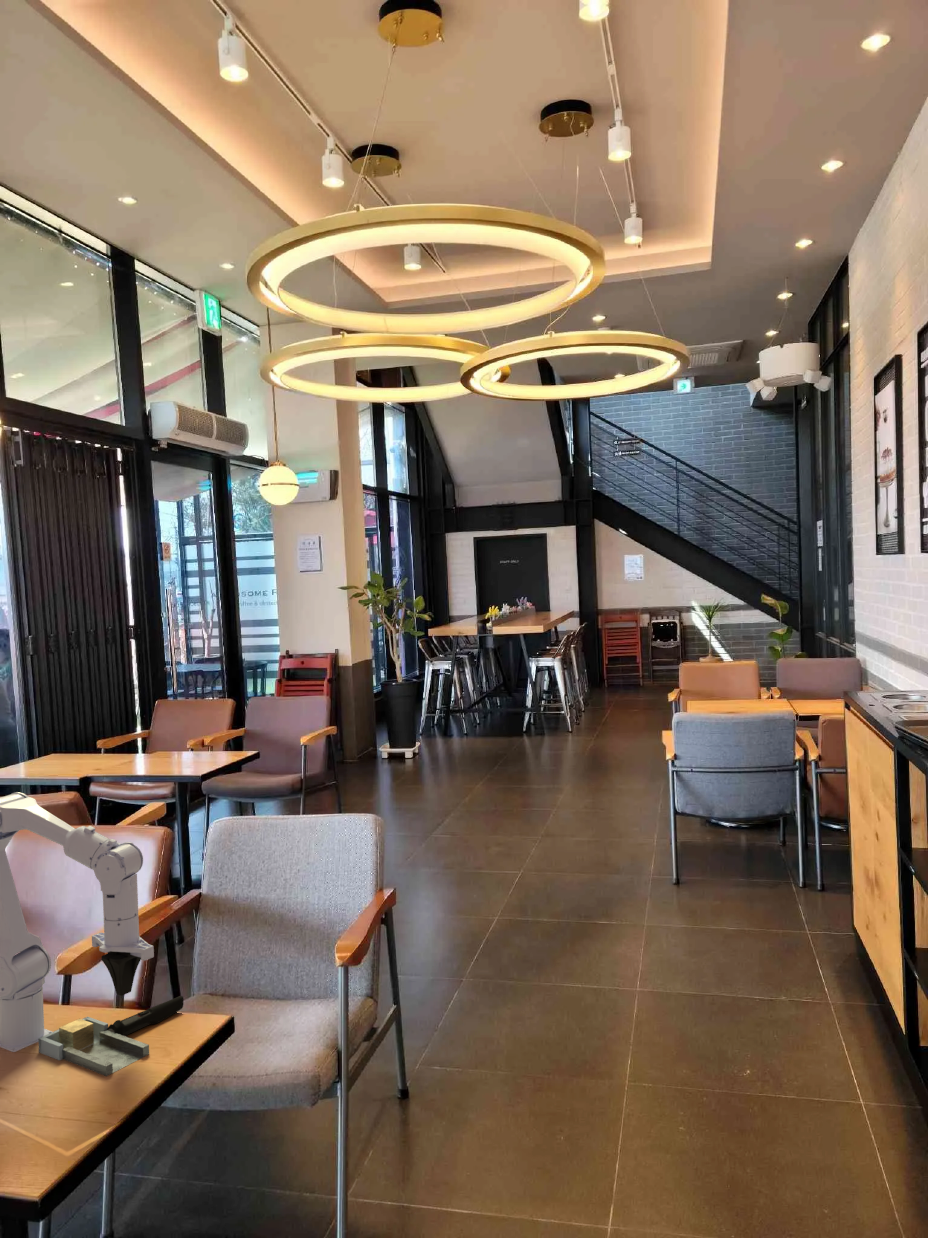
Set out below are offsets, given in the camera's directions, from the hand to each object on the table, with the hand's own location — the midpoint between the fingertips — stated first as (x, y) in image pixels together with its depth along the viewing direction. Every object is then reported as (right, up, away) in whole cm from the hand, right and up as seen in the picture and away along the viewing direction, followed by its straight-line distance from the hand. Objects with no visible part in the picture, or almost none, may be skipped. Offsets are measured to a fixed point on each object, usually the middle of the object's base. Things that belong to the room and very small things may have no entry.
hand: (123, 993), depth 157 cm
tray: (-9, -10, +1) cm, 14 cm away
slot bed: (-2, -10, -3) cm, 11 cm away
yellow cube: (-9, -10, +1) cm, 13 cm away
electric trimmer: (+1, -10, +8) cm, 13 cm away
